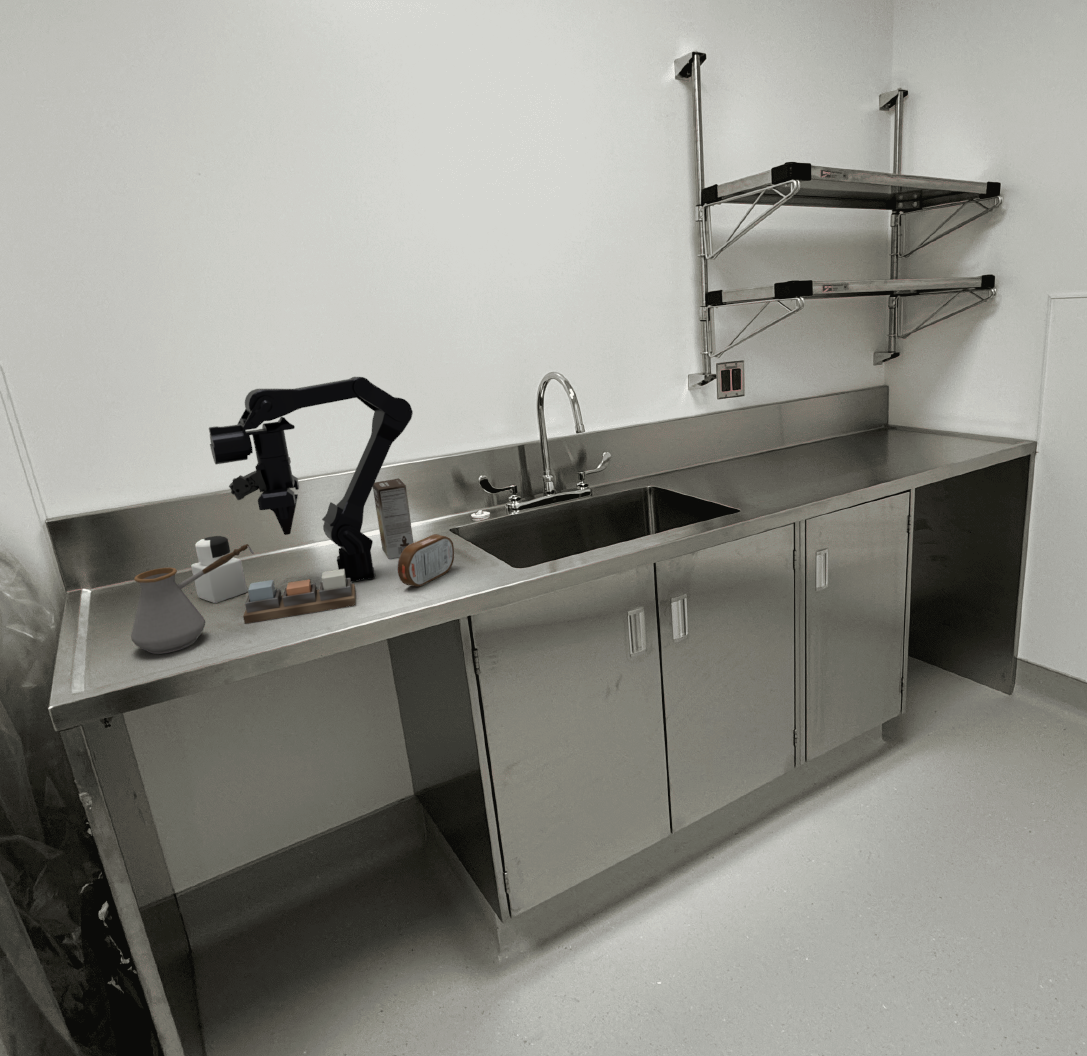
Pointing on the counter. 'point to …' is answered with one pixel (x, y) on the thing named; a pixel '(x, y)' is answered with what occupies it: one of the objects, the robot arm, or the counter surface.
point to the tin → (426, 560)
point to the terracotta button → (299, 587)
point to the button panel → (300, 603)
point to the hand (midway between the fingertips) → (287, 534)
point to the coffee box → (393, 516)
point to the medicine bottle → (218, 571)
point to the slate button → (262, 590)
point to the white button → (334, 579)
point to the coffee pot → (169, 609)
